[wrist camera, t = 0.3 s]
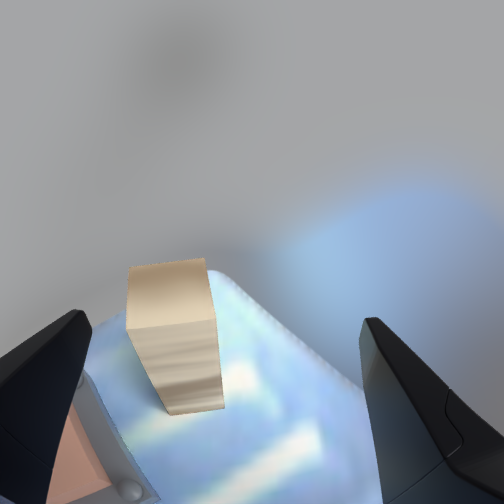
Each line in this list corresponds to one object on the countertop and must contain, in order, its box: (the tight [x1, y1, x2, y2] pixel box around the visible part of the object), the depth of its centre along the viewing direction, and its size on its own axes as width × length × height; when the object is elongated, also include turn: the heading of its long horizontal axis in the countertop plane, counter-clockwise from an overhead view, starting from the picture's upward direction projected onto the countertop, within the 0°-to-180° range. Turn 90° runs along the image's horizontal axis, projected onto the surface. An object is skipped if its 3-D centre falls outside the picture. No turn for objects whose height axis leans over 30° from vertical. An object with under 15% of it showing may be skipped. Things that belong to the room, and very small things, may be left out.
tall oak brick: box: [126, 258, 225, 415], centre depth 20 cm, size 4×4×12 cm
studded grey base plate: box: [46, 369, 161, 504], centre depth 15 cm, size 12×12×5 cm
